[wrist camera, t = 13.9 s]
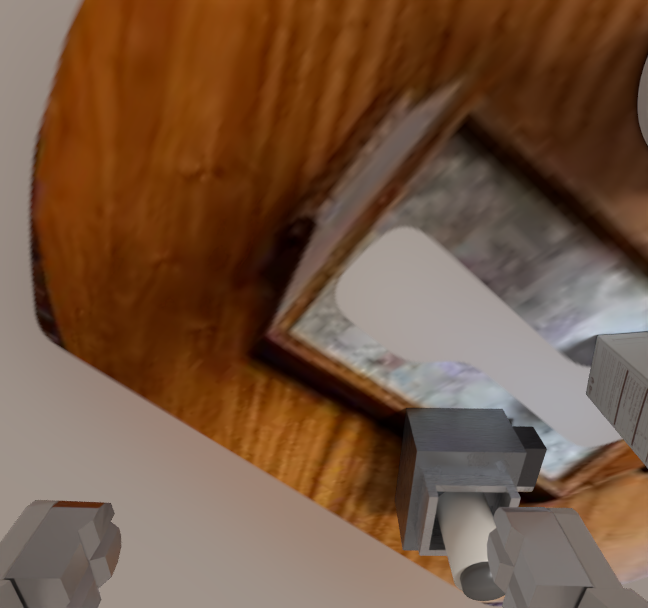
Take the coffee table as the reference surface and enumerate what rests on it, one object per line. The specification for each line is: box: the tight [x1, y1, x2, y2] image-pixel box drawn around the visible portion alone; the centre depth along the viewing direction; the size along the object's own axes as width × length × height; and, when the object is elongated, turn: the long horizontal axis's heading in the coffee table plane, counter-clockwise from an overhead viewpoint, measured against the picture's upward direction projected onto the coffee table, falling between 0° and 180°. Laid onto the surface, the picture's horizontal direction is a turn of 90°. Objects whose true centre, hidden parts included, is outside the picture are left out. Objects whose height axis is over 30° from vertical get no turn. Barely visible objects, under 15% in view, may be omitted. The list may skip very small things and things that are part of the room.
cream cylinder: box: [436, 492, 505, 601], centre depth 39 cm, size 5×5×8 cm
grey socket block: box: [395, 408, 547, 556], centre depth 44 cm, size 13×14×8 cm
